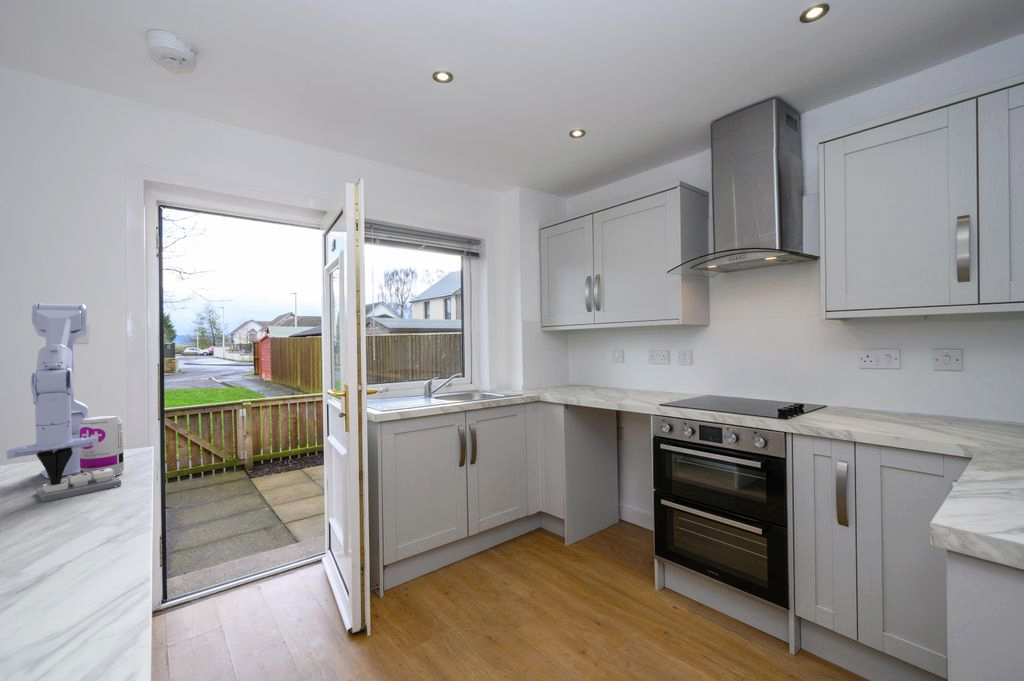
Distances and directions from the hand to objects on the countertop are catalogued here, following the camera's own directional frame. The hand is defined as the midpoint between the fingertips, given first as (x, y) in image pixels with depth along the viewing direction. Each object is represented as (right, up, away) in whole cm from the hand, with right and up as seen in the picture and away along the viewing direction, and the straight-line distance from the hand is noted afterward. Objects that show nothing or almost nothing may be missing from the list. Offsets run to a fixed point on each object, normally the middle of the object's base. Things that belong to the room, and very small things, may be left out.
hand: (55, 483), depth 103 cm
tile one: (+5, -1, +6) cm, 8 cm away
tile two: (+2, -2, +3) cm, 5 cm away
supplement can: (-2, -3, +14) cm, 14 cm away
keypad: (+2, -2, +3) cm, 5 cm away
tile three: (0, -2, 0) cm, 2 cm away
